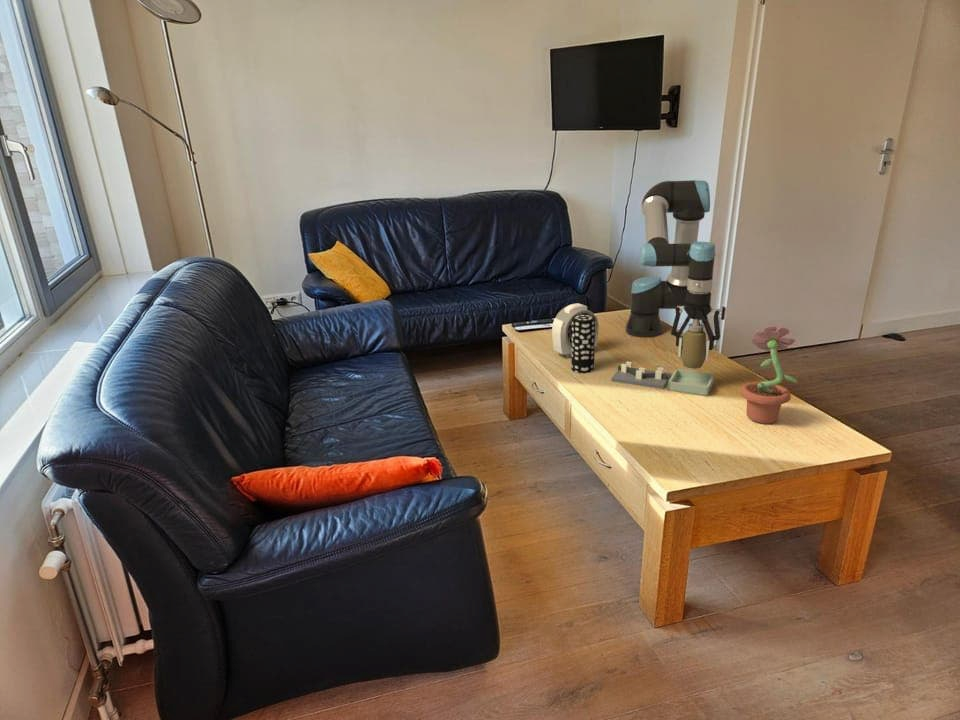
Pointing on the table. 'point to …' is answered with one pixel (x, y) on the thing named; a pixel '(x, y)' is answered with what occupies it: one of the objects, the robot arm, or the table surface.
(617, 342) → the table surface
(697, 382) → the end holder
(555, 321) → the alarm clock
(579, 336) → the white-spotted black cylinder
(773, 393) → the decorative flower
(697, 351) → the squeeze bottle
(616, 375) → the grey peg board
